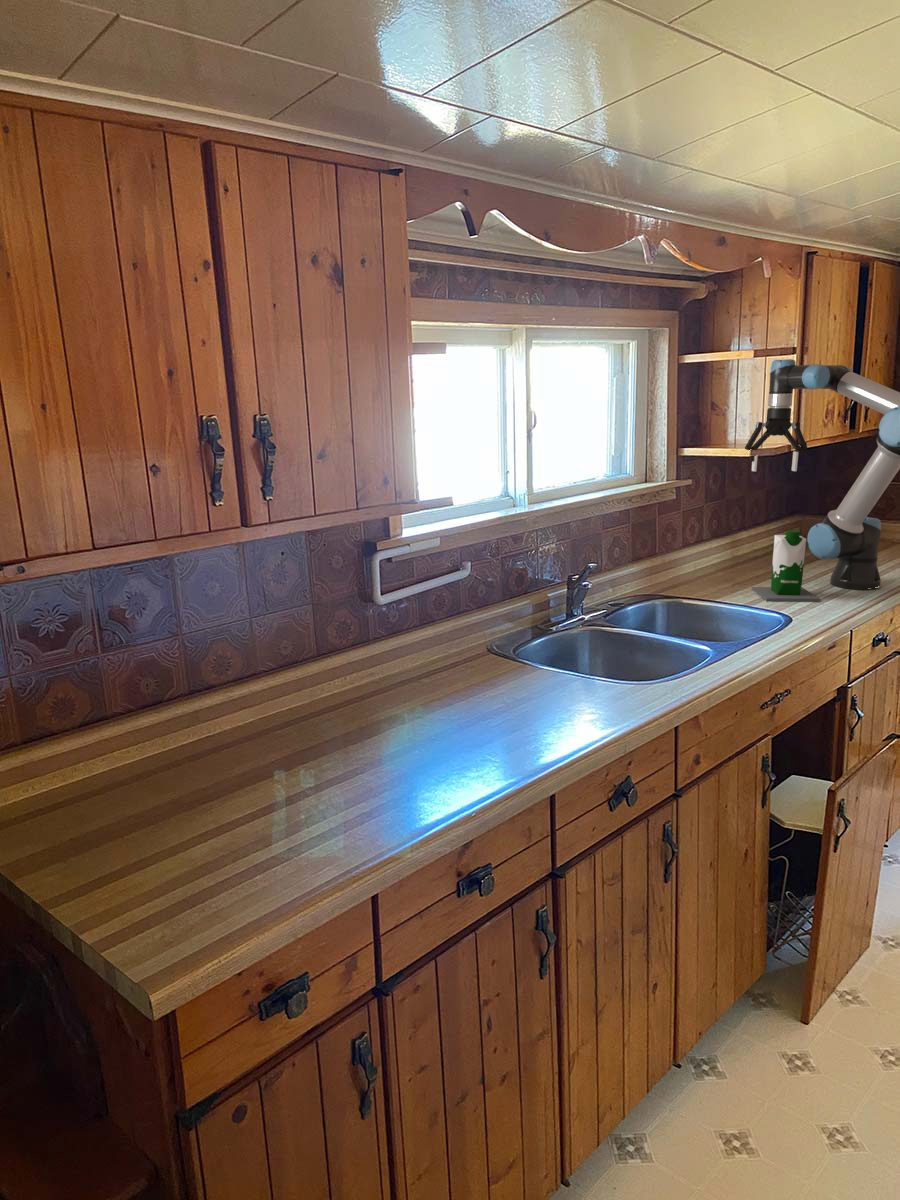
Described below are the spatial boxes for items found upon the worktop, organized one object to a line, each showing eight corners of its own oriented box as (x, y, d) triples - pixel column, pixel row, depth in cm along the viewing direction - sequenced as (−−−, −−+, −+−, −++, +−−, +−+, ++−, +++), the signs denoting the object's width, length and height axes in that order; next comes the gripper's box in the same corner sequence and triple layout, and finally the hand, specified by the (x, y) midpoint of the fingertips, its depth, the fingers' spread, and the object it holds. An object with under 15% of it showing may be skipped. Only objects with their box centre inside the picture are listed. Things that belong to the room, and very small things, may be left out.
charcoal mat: (801, 590, 273) (801, 587, 273) (819, 601, 258) (819, 598, 257) (751, 589, 274) (751, 586, 274) (766, 601, 259) (766, 598, 258)
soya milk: (775, 595, 262) (780, 532, 257) (767, 589, 270) (772, 527, 266) (804, 596, 261) (809, 532, 256) (795, 589, 270) (800, 528, 265)
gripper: (812, 406, 284) (806, 469, 289) (738, 407, 285) (733, 470, 290) (821, 407, 277) (815, 471, 282) (745, 407, 277) (740, 472, 282)
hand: (773, 471), depth 286 cm, fingers open, 13 cm apart
